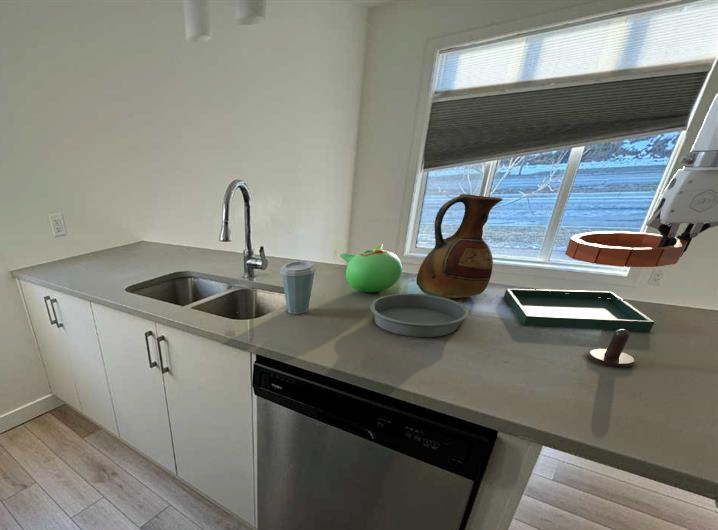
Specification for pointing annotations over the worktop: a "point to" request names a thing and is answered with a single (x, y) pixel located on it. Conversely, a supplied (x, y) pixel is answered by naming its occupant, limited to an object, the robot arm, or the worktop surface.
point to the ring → (624, 249)
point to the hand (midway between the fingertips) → (668, 255)
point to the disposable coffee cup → (297, 285)
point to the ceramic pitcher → (459, 253)
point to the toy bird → (372, 269)
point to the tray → (576, 310)
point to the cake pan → (418, 314)
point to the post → (614, 352)
